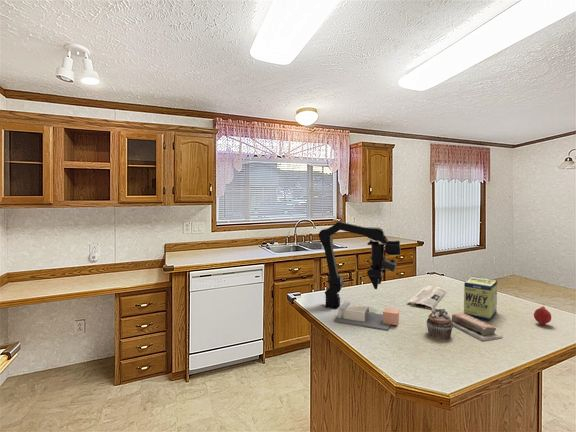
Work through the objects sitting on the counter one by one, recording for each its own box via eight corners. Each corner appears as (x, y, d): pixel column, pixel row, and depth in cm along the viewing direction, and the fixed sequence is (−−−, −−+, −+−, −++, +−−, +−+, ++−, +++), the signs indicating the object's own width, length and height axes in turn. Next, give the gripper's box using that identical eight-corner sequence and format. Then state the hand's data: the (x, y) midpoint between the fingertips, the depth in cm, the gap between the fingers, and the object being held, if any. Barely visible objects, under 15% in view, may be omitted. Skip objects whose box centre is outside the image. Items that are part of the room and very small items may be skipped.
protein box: (463, 316, 145) (463, 282, 144) (472, 307, 156) (472, 276, 155) (490, 322, 138) (490, 286, 137) (497, 312, 149) (497, 279, 148)
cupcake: (422, 329, 131) (422, 306, 130) (446, 329, 130) (446, 306, 130) (432, 340, 121) (432, 314, 120) (457, 340, 121) (458, 314, 120)
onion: (546, 328, 130) (547, 309, 129) (530, 323, 135) (531, 305, 134) (553, 325, 133) (554, 307, 132) (537, 321, 138) (538, 303, 137)
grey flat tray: (334, 321, 140) (334, 309, 140) (344, 310, 155) (344, 298, 154) (388, 330, 130) (388, 317, 130) (393, 317, 145) (393, 305, 144)
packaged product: (447, 313, 137) (466, 310, 139) (447, 324, 137) (465, 321, 139) (482, 330, 119) (503, 326, 122) (482, 342, 120) (503, 339, 122)
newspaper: (432, 311, 153) (432, 303, 153) (406, 306, 160) (406, 299, 160) (446, 292, 181) (447, 286, 181) (423, 289, 189) (424, 283, 188)
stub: (382, 323, 136) (382, 311, 136) (384, 319, 141) (384, 308, 141) (397, 325, 134) (397, 313, 134) (399, 321, 138) (399, 309, 138)
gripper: (392, 259, 139) (392, 294, 140) (397, 252, 156) (397, 283, 157) (367, 257, 144) (367, 291, 145) (374, 250, 161) (374, 281, 162)
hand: (377, 286), depth 152 cm, fingers open, 9 cm apart
